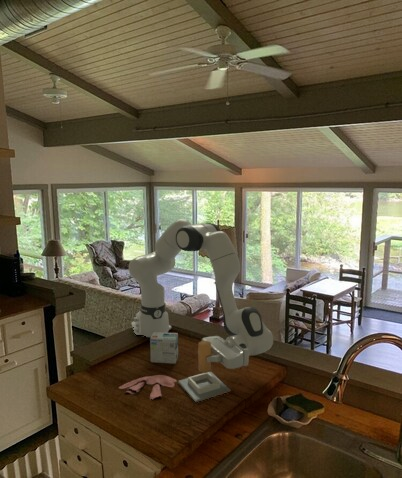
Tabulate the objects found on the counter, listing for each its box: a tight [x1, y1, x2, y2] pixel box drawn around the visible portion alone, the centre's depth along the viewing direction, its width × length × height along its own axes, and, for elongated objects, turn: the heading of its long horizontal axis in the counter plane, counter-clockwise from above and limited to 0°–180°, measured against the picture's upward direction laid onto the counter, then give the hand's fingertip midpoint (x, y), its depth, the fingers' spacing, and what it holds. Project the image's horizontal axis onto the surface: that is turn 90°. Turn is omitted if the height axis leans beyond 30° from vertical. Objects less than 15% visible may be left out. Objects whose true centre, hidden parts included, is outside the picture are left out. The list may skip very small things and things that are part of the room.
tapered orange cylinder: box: [197, 340, 212, 374], centre depth 137 cm, size 4×4×10 cm
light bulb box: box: [149, 332, 179, 365], centre depth 159 cm, size 11×7×11 cm, turn 84°
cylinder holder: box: [177, 371, 231, 403], centre depth 139 cm, size 14×14×3 cm
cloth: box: [118, 374, 178, 400], centre depth 138 cm, size 20×22×2 cm
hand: (202, 355), depth 136 cm, fingers closed on tapered orange cylinder, 4 cm apart
